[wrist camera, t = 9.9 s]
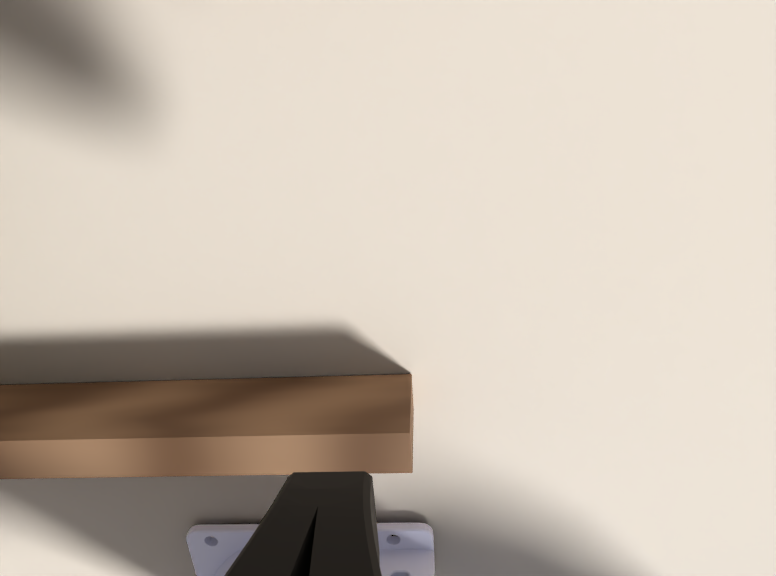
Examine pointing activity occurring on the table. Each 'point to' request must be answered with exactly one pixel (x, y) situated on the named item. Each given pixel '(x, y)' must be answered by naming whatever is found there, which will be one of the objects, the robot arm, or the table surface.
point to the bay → (207, 427)
